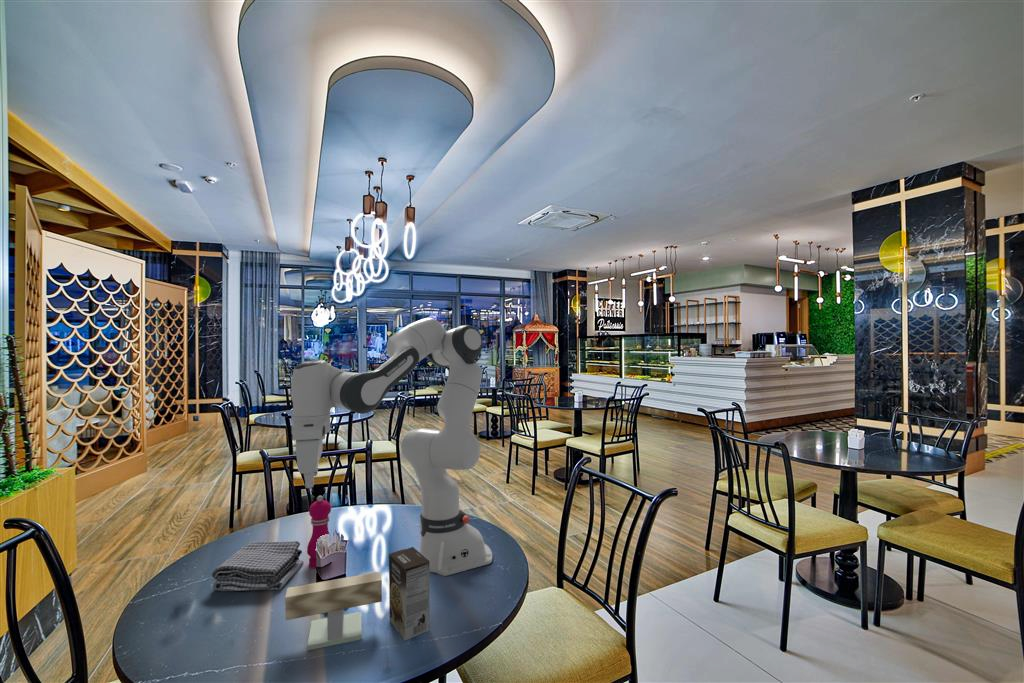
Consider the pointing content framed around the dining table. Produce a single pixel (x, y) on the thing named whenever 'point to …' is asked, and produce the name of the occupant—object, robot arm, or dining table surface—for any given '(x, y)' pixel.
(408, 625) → the coffee box
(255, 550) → the towel
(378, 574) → the beech bar
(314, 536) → the pepper mill
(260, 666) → the dining table surface
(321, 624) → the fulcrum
